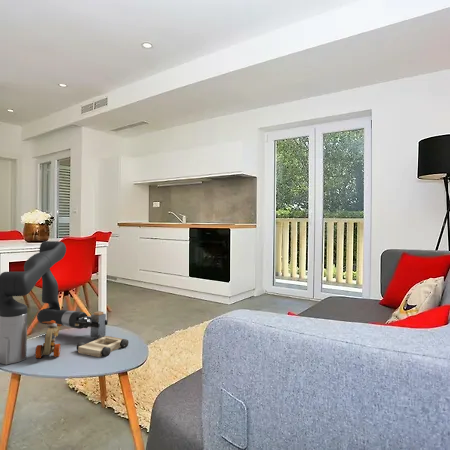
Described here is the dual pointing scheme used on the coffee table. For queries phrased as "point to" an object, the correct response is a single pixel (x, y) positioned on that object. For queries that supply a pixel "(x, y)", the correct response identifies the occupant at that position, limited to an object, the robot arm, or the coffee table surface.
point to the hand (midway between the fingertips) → (103, 323)
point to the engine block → (101, 319)
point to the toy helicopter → (49, 341)
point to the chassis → (101, 346)
